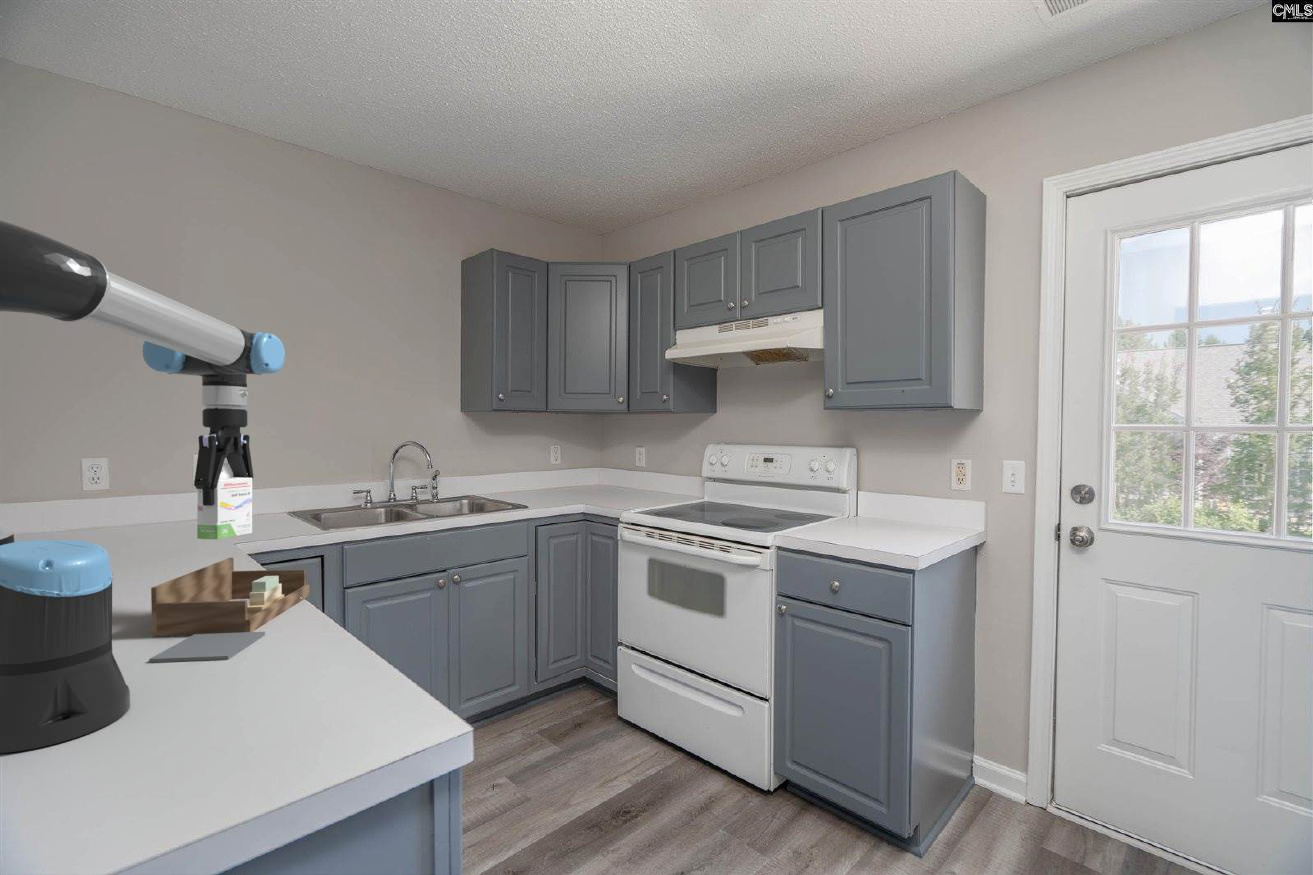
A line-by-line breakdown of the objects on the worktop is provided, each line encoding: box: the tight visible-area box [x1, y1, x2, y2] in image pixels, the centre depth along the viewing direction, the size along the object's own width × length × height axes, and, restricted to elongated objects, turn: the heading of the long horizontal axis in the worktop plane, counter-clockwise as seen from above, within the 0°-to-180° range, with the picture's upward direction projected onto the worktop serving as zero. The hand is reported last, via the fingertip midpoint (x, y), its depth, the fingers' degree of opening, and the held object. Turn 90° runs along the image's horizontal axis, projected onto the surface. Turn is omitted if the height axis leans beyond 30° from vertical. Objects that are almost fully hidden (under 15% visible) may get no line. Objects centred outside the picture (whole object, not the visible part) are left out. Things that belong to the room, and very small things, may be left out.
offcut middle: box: [249, 584, 282, 605], centre depth 128 cm, size 7×3×2 cm, turn 6°
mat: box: [148, 631, 266, 664], centre depth 108 cm, size 12×12×1 cm
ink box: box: [196, 462, 254, 540], centre depth 126 cm, size 9×5×15 cm, turn 169°
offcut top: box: [252, 576, 279, 592], centre depth 127 cm, size 5×3×2 cm, turn 5°
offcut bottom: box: [247, 594, 284, 619], centre depth 128 cm, size 9×3×3 cm, turn 6°
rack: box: [150, 557, 311, 637], centre depth 127 cm, size 25×17×9 cm, turn 7°
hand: (226, 518), depth 126 cm, fingers closed on ink box, 9 cm apart
